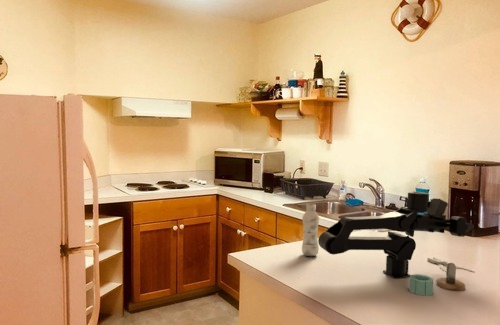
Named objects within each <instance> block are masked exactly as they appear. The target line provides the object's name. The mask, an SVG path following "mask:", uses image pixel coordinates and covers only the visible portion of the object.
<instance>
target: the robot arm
mask: <svg viewBox="0 0 500 325" xmlns="http://www.w3.org/2000/svg"><path fill="white" fill-rule="evenodd" d="M429 198H430V193H427V192H424V191H423V192H421V191H411V192H407V204H406V206H400V207H399V208H398V209H397V210H395V211H390V212H385V213H383V214H382V215H372V216H370V215H368V216H343V217H341V218H339V220H338V221H337V222H336V223H334V224H333V225H331V226H330V227H328V228H327V230H326V231H324V232H322V233H321V234H320V235H319V237H318V238H317V239H318V247H319V246H320V248H321V249H323V250H324V251H325V252H326V253H328V254H330V255H332V256H333V255H340V254H343V253H347V252H348V251H383V253H384V254H386V256H385V257H386V258H385V259H386V260H385V261H386V262H385V269H383V270H382V273H384V274H386V275H388V276H390V277H391V278H393V279H401V278H402V279H403V278H410V275H411V274H409V261H411V260H412V257H413V254H414V251H415V250H416V247H417V243H416V241H415V239H414V238H413V237H414V236H415V232H426V233H427V232H428V233H434V232H435V233H440V234H445V230H446V228H449V231H448V232H449V234H450V235H451V236H455V237H466V233H468V232H469V231H472V230H473V229H474V228H475V224H473V223H469V222H467V219H466V217H463V216H455V215H454V216H451V217H450V218H448V219H447V215H445V212H446V209H447V207H448V205H449V203H448V202H447V201H445V200H443V199H441V198H434V197H433V198H432V199H431V198H430V199H429ZM384 229H385V230H388V231H387V235H385V236H351V234H352V233H353V232H354V231H362V230H365V231H366V230H384ZM389 230H390V231H389Z"/></svg>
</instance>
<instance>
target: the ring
mask: <svg viewBox="0 0 500 325" xmlns="http://www.w3.org/2000/svg"><path fill="white" fill-rule="evenodd" d="M408 289H409V292H411V293H413V294H415V295H420V296H432V295H433V293H434V277H431V276H429V275H427V274H426V275H425V274H419V273H415V274H414V273H413V274H410V277H409V287H408Z"/></svg>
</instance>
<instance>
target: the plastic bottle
mask: <svg viewBox="0 0 500 325" xmlns="http://www.w3.org/2000/svg"><path fill="white" fill-rule="evenodd" d="M305 206H306V208H305V210H306V211H305V212H304V214H303V215H302V219H301V220H302V228H303V235H302V236H303V238H302V244H301V252H302V254H303V255H304V256H307V257H315V256H317V255H318V254H319V249H320V248H319V243H318V239H319V238H318V229H319V224H320V217H319V214H318V213H317V211H316V210H317V207H316V206H317V205H316V204H314V203H306V205H305Z"/></svg>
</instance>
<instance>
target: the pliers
mask: <svg viewBox="0 0 500 325" xmlns="http://www.w3.org/2000/svg"><path fill="white" fill-rule="evenodd" d="M426 261H427V262H428V261H429V262H428V263H431V262H432V263H431V264H434V263H435V264H436V263H437V264H436V265H437V266H438V265H439V266H440V267H439V269H440V270H441V269H442V270H441V271H443V272H444V271H445V273H446V270H447V264H448V263H449V262H448V261H446V260H442V259H441V258H440V259H439V258H438V257H435V256H433V257H427V260H426ZM445 266H446V267H445ZM455 266H456V269H458V270H459V269H460V270H461V269H462V270H464V271H468V272H470V273H471V272H472V273H476V272H475V271H474V270H473V269H471V268H468V267H465V266H460V265H457V264H455Z"/></svg>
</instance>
